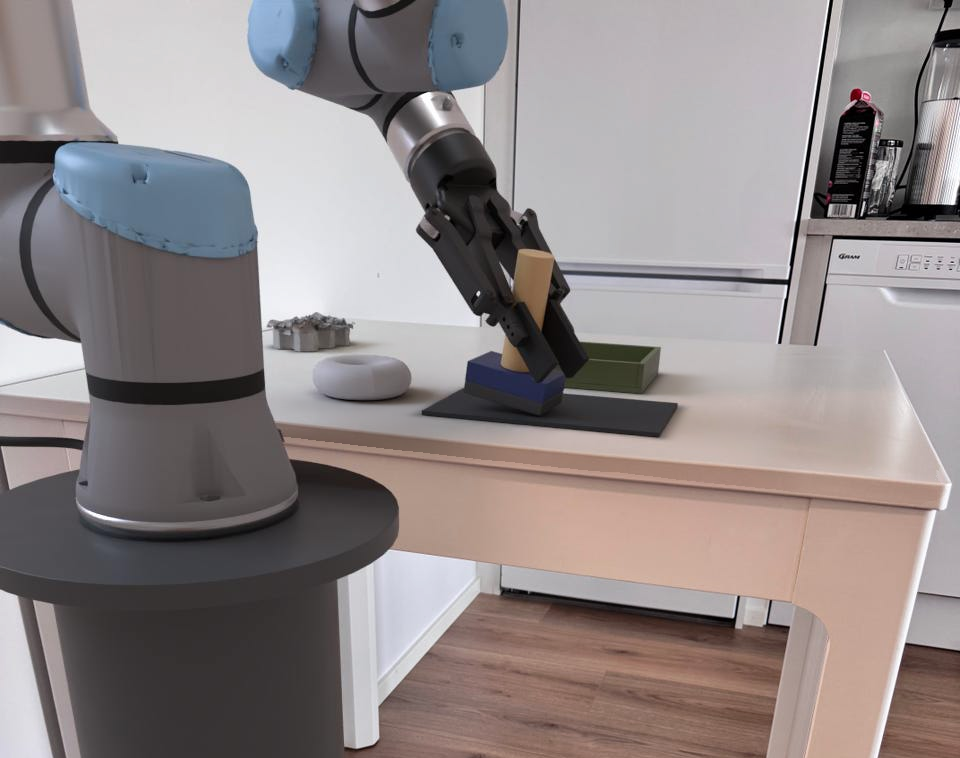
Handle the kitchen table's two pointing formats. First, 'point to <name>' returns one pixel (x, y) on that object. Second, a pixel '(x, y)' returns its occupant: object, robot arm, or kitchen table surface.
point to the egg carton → (310, 332)
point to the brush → (507, 371)
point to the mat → (565, 413)
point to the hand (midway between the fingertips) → (562, 370)
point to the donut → (361, 377)
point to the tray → (616, 368)
